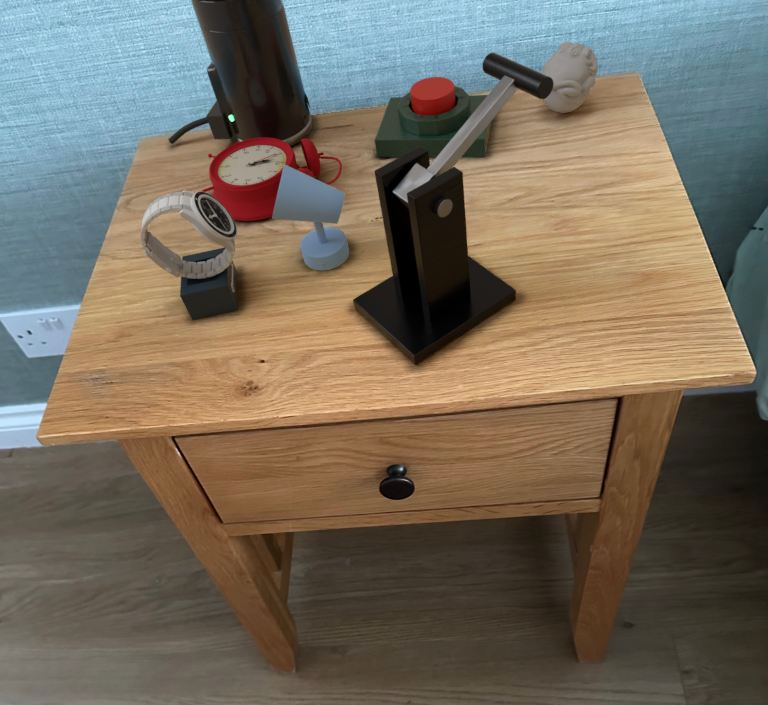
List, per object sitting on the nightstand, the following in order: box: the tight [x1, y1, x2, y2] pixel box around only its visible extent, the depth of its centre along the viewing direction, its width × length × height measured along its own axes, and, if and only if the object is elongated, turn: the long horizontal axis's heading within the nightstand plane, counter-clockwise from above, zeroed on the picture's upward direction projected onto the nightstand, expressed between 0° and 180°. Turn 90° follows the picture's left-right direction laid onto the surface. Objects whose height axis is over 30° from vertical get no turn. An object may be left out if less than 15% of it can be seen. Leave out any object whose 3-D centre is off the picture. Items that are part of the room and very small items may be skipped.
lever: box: [393, 52, 554, 209], centre depth 52 cm, size 13×6×2 cm
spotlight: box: [271, 164, 350, 271], centre depth 64 cm, size 5×10×7 cm
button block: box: [374, 85, 493, 158], centre depth 77 cm, size 12×9×4 cm
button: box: [409, 76, 456, 115], centre depth 76 cm, size 5×5×2 cm
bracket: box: [352, 146, 517, 366], centre depth 56 cm, size 11×9×14 cm
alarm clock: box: [200, 137, 343, 222], centre depth 74 cm, size 10×6×15 cm
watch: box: [140, 189, 239, 321], centre depth 62 cm, size 6×8×11 cm
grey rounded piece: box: [540, 41, 599, 114], centre depth 76 cm, size 6×7×7 cm
